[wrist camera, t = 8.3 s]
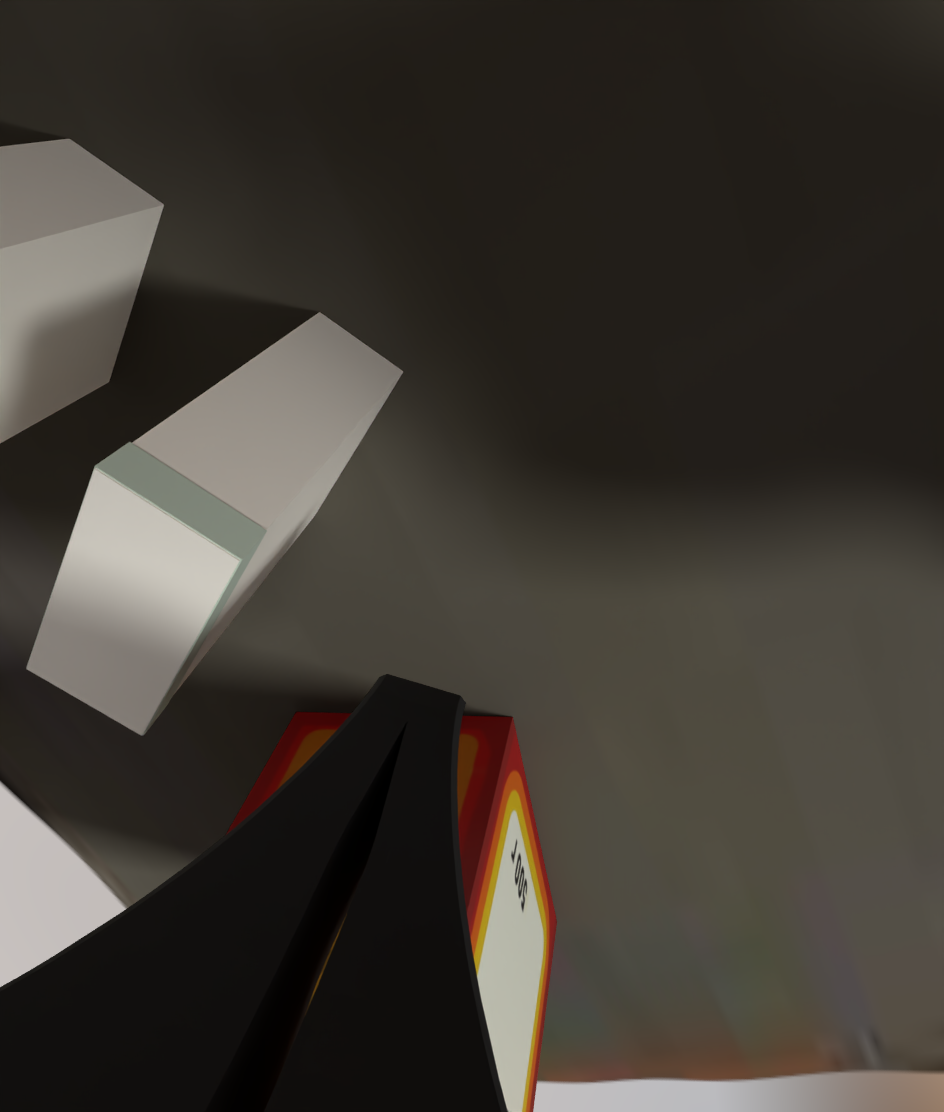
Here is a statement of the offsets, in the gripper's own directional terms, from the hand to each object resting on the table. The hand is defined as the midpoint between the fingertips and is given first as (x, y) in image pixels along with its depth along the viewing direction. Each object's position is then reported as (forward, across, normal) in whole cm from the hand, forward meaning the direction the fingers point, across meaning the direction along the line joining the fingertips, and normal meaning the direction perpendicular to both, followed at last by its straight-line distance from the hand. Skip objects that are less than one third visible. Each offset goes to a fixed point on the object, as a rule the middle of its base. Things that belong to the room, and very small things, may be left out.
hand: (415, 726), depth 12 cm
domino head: (+6, +4, -2) cm, 7 cm away
